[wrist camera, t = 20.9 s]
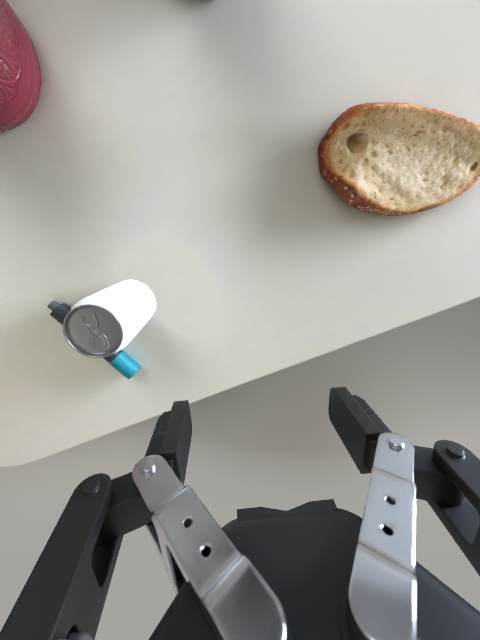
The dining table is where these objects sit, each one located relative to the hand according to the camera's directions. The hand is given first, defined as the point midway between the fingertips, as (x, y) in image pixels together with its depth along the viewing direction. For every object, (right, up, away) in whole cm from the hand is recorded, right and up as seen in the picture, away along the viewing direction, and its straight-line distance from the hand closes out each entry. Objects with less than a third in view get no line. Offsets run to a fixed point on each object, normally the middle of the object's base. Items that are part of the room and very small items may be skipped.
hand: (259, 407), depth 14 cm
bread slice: (+19, +26, +18) cm, 37 cm away
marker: (-22, +3, +23) cm, 32 cm away
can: (-16, +8, +22) cm, 28 cm away
